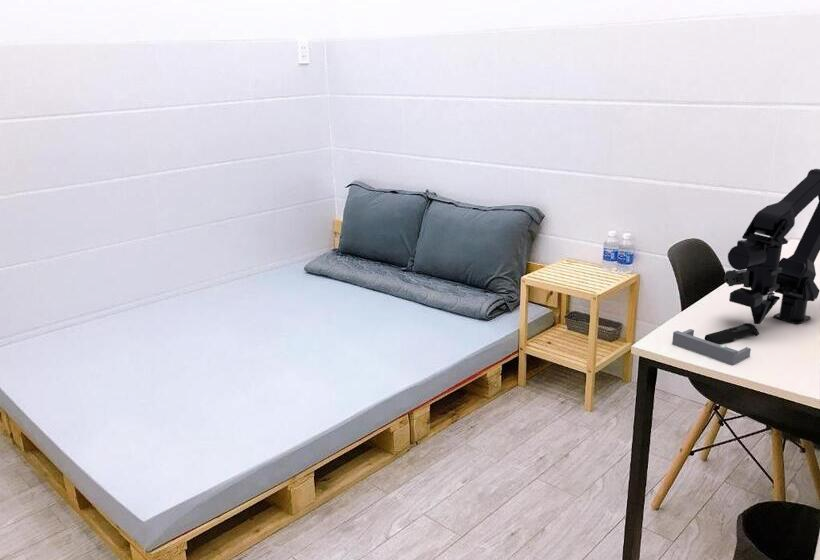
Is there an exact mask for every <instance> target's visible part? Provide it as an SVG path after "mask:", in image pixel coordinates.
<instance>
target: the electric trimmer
mask: <svg viewBox="0 0 820 560" xmlns="http://www.w3.org/2000/svg"><path fill="white" fill-rule="evenodd" d="M754 335H755V336H754ZM758 335H759V329H758V328H757V326H755V324H752V323H749V322H746V323H743V324H742V325H740V324H739V325H737V326H733V327H729V328H726V329H722V330H719V331H715V332H712V333H708V334H706V335H705V336H704V340H707V341H710V342H713V343H716V344H721V343H722V344H723V343H729V342H730V343H731V342H734V340H735V339H740V338H744V337H749V336H754V337H756V336H758Z"/></svg>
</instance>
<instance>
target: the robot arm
mask: <svg viewBox="0 0 820 560" xmlns="http://www.w3.org/2000/svg"><path fill="white" fill-rule="evenodd" d="M816 198H818V203H817V205H816V207H815V209H814V211H813V213H812V215H811V217H810V219H809V222H808V223H807V226H806V228H805V229H804V232H803V234H802V236H801V238H800V240H799V242H798V244H797V245H796V248H795V251H794V252H793V254H792V255H790V256H789V257H782V249H783V245H787V244H788V243H789V241H788V240H787V239H786V236H787V235H788V234H789V232H791V230H792V229H793V228H794V226H795V224H796V221H795V220H796V217H797V216H798V215H799V214H800V213H801V212H802V211H803V210H805V208H807V206H809V204H811V203H812V201H814V200H815V199H816ZM741 238H742V239H741V240H737V244H736V245H735V246H733V247H732V248H730V250H729V251H728V253H727V261H728V264H729V266H731V268H732V270H730V269H729V270H727V271H725V273H724V277H723V282H725V284H727V285H728V287H734V286H740V285H743V286H742V287H740V288H738V289H735V290H733V291H731V292H730V293H729V300H728V301H729V302H731V303H734V304H738V305H741V306H745V307H748V308H750V311H751V315H752V319H753V320H752V321H753V323H754V324H753V325H758V326H759V325H760V324H761V323H762V322H763V321H764V319H765V318H766V316H768V314H769V312H770V311H771V310H772V308H773V307H774V306H775V304H776V303H777V302H778V301H779V300H780V299H781V303H780V308H779V312H777V313H776V314H774V315H773V316H772V318H774V319H777V320H782V321H785V322H789V323H793V324H796V325H799V324H803V323H804V321H805V322H806V321H809V320H810V318H811V316H810V315H807V307H808V303H809V302H815V300H817V299H818V297H819V294H820V289H819V287H818V285H817V284H816V283H815V278H816V276H817V274H816V267H815V261H816V259H817V257H818V255H819V253H820V168H813V169H810V170H808V173H807V175H806V177H804V178H803V180H801V181H800V182H799V183H798V184H797V185H796V186H795V187H794V188H792V189H791V190H790V192H788V193H787V194H786V195H785V196H784V197H783V198H782V199H781V200H779V201H778V202H776V203H772V204H768V205H767V206H764V207H763V208H762V209H760V210H759V211H758V212H756V214H755V215H754V217H753V218H752V220H751V221H750V223H749V225H748V227H747V228H746V230H745V231H744V233H743V235H742V237H741ZM781 257H782V258H781ZM776 293H777V294H780V295H782V296H781V297H780V296H777V295H775V294H776Z"/></svg>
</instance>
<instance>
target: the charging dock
mask: <svg viewBox="0 0 820 560" xmlns="http://www.w3.org/2000/svg"><path fill="white" fill-rule="evenodd" d="M694 333H695V330H694V329H693V328H692V329H691V328H689V329H686V330H684V331H679V330H675V331H673V332H672V342H671V344H672V345H674V346H677V347H680V348H683V349H685V350H688V351H691V352H694V353H696V354H697V353H698V354H699V355H702V356H706V357H708V358H711V359H714V360H717V361H720V362H722V363H726V364H728V365H731V366H734V365H735V364H736V365H737V364H738V363H740V362H742V361H744V360H745V359H748V358H750V356H751V350H752V348H751V347H747V346H746V347H744V348H742V349H739V350H737V349H733V348H731V347H727V345H726V344H720V343H713V342H710V341H707V340H705V338H704V339H703V338H701V337H698V336H697V337H696V336H694V335H695V334H694Z"/></svg>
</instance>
